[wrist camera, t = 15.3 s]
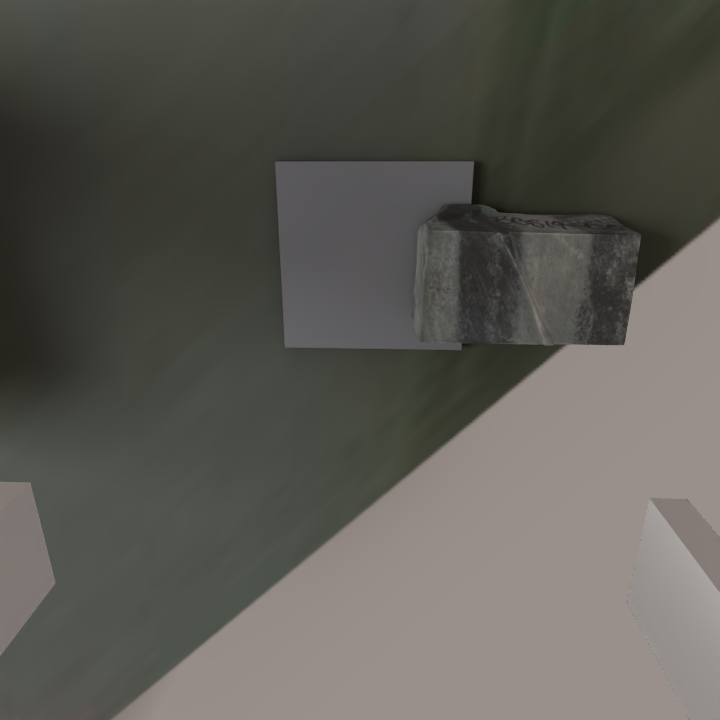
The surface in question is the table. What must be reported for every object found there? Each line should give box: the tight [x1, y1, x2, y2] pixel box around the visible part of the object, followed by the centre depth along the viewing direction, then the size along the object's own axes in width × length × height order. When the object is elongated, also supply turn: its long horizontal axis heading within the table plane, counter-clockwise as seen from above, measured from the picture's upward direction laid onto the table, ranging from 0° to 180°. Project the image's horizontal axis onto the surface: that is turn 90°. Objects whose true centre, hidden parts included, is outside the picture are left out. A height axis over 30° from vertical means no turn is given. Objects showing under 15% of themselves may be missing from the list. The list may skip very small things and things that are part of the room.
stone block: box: [411, 204, 641, 346], centre depth 39 cm, size 9×14×5 cm, turn 89°
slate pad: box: [275, 161, 474, 350], centre depth 42 cm, size 14×14×1 cm
